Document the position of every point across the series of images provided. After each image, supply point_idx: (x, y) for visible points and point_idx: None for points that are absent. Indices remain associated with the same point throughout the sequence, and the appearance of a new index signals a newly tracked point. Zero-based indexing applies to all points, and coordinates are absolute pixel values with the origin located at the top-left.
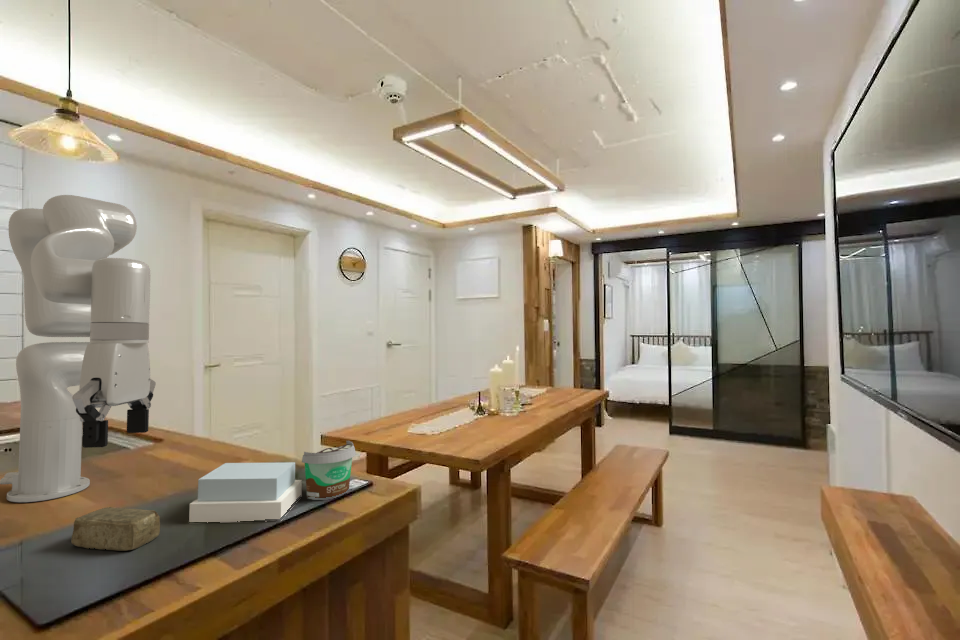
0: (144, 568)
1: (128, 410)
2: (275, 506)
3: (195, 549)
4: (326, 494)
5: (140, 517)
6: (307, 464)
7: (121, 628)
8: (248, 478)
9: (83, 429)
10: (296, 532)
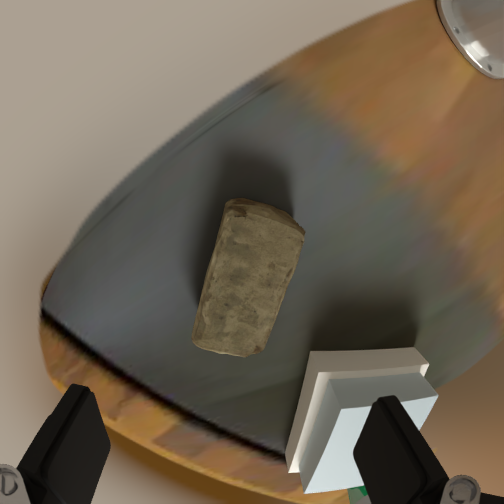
0: (149, 357)
1: (427, 483)
2: (288, 463)
3: (203, 396)
4: None
5: (219, 346)
6: (365, 495)
7: (51, 377)
8: (317, 469)
9: (39, 437)
10: (243, 469)
